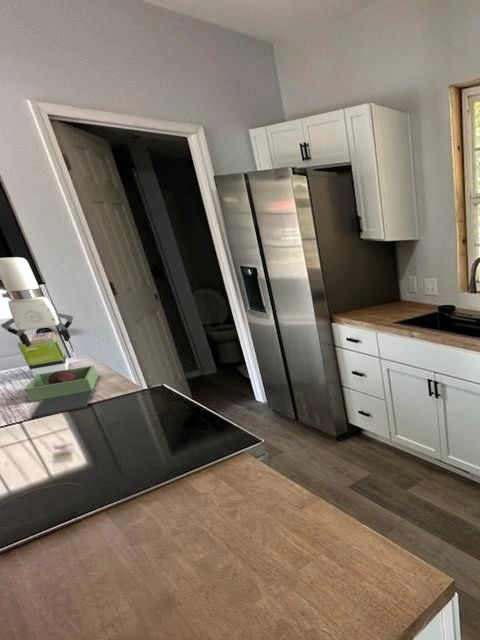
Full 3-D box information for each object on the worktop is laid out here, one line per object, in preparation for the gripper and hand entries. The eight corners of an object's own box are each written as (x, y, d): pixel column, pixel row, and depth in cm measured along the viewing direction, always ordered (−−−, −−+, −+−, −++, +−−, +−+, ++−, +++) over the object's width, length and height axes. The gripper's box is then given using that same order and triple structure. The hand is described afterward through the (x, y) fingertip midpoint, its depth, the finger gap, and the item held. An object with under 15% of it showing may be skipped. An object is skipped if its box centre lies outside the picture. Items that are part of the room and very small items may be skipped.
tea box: (36, 369, 173) (20, 335, 167) (69, 363, 179) (55, 330, 174) (33, 378, 163) (16, 342, 157) (69, 371, 169) (53, 337, 164)
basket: (29, 401, 141) (24, 389, 139) (41, 385, 155) (36, 374, 153) (92, 390, 150) (87, 378, 148) (98, 376, 164) (93, 365, 162)
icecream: (40, 370, 151) (44, 383, 143) (66, 361, 156) (71, 372, 147) (55, 385, 155) (59, 398, 147) (79, 376, 160) (85, 388, 151)
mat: (32, 418, 128) (31, 416, 128) (44, 400, 141) (43, 399, 141) (85, 407, 135) (84, 406, 135) (92, 391, 148) (91, 390, 148)
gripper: (-16, 299, 132) (9, 350, 139) (59, 293, 142) (80, 340, 149) (-9, 297, 138) (15, 346, 144) (63, 290, 148) (83, 336, 154)
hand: (48, 343), depth 146 cm, fingers open, 9 cm apart
